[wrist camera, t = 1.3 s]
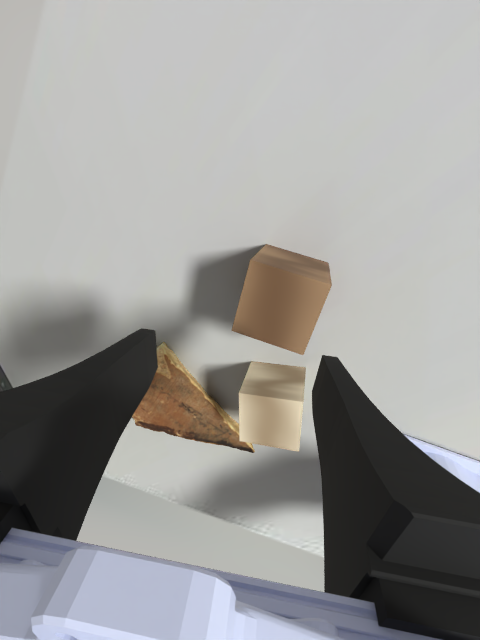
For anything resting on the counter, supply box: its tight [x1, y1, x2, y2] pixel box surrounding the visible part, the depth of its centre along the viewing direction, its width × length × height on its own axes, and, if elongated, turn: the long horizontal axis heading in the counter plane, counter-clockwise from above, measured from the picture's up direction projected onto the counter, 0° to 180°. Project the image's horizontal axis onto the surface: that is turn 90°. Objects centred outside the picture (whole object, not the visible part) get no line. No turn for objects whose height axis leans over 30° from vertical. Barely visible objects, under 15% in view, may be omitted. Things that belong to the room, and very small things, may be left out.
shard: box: [132, 342, 255, 453], centre depth 28 cm, size 13×9×2 cm
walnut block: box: [232, 244, 332, 355], centre depth 19 cm, size 4×4×6 cm
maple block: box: [239, 361, 306, 452], centre depth 23 cm, size 4×4×4 cm
